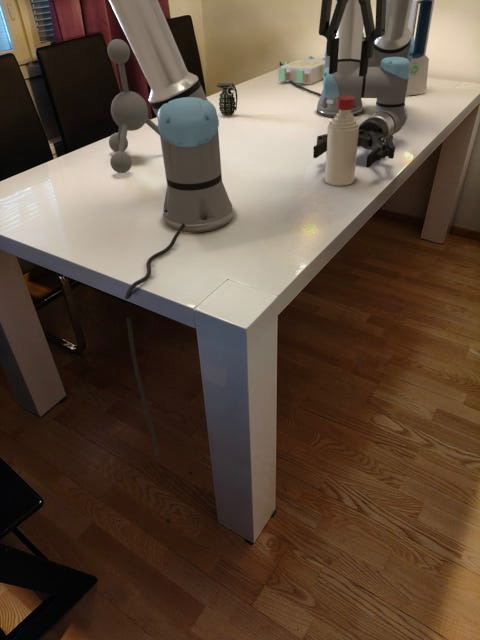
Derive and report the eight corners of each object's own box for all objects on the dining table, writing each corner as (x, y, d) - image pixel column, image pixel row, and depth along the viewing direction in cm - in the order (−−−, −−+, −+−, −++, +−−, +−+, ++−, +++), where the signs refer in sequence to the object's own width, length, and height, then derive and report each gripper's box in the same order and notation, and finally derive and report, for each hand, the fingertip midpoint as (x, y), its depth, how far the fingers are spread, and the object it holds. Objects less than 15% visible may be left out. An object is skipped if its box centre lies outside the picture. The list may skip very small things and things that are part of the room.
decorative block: (301, 54, 217) (341, 57, 207) (300, 70, 221) (340, 74, 211) (269, 65, 201) (312, 69, 191) (269, 82, 205) (311, 87, 195)
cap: (356, 106, 110) (357, 96, 109) (350, 110, 108) (351, 100, 106) (339, 104, 112) (340, 94, 111) (333, 109, 109) (334, 99, 108)
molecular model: (195, 164, 133) (181, 39, 115) (114, 179, 127) (87, 50, 109) (172, 140, 150) (157, 28, 132) (101, 152, 145) (75, 37, 126)
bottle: (357, 177, 121) (366, 96, 110) (348, 187, 116) (355, 105, 105) (330, 172, 124) (336, 94, 113) (320, 183, 119) (324, 102, 108)
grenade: (217, 117, 168) (214, 86, 162) (221, 112, 172) (219, 82, 166) (235, 117, 166) (233, 86, 160) (239, 113, 171) (238, 82, 165)
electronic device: (395, 97, 177) (408, -1, 159) (385, 92, 183) (397, -3, 164) (425, 93, 179) (442, -4, 161) (414, 89, 185) (429, -6, 167)
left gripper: (303, -58, 93) (300, 74, 108) (402, -64, 85) (384, 81, 99) (320, -59, 98) (315, 67, 112) (415, -65, 89) (397, 73, 104)
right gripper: (419, 152, 125) (389, 181, 112) (330, 139, 137) (294, 163, 123) (424, 122, 121) (394, 148, 107) (332, 111, 132) (294, 133, 119)
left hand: (347, 73), depth 106 cm, fingers open, 6 cm apart
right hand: (340, 156), depth 115 cm, fingers open, 13 cm apart
